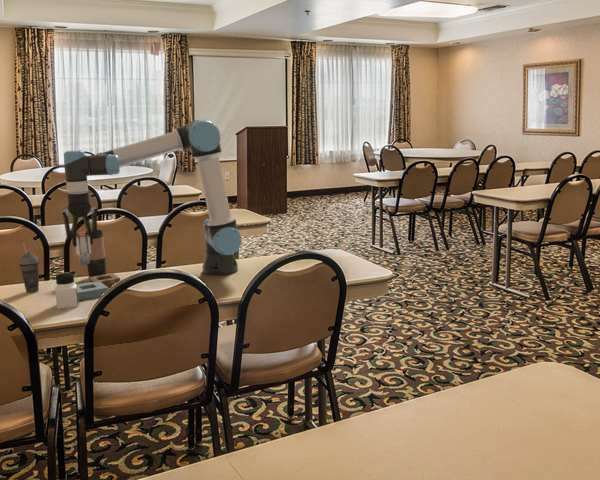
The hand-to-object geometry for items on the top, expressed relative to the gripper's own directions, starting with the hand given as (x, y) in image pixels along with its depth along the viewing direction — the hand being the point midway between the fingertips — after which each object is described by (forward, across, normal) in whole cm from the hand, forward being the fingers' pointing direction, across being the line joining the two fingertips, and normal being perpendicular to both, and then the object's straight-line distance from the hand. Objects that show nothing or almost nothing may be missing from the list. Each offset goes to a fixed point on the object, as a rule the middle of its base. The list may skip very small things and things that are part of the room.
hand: (83, 253), depth 238 cm
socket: (+16, 0, 0) cm, 16 cm away
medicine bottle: (+16, +10, +10) cm, 22 cm away
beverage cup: (+16, +17, -19) cm, 30 cm away
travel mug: (+16, -10, -24) cm, 31 cm away
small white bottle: (+4, 0, 0) cm, 4 cm away
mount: (+16, -9, -10) cm, 21 cm away
